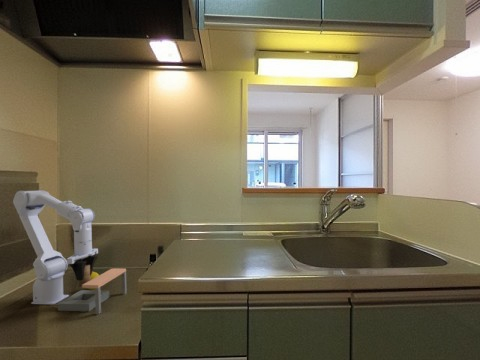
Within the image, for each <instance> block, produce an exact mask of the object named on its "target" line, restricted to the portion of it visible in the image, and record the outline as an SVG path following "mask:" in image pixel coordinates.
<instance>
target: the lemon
mask: <svg viewBox="0 0 480 360" xmlns="http://www.w3.org/2000/svg"><path fill="white" fill-rule="evenodd" d="M99 275H100V274H99V273H97V272H96V271H92V274H91V276H90V280H92V279H94V278H96V277H97V276H99ZM87 290H95V288H87Z"/></svg>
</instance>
